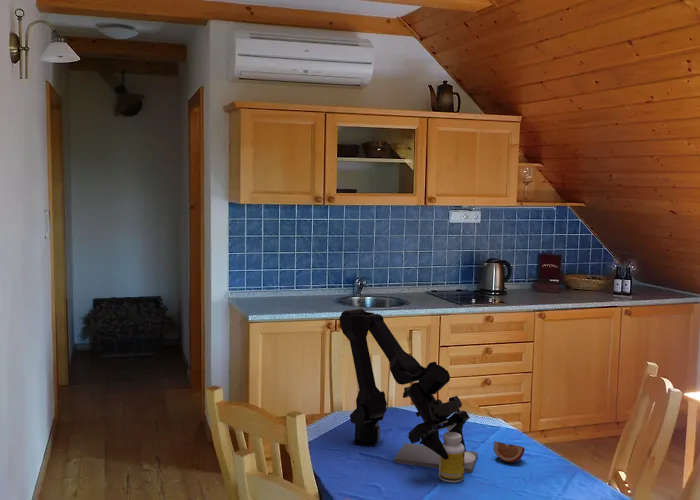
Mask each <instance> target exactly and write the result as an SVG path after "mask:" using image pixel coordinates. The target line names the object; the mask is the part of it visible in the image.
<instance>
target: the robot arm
mask: <svg viewBox="0 0 700 500" xmlns="http://www.w3.org/2000/svg"><path fill="white" fill-rule="evenodd" d="M338 319H339V321H338V322H339V324H340V328H341V331H342V334H343V335H344V336H345V337H346V338H347V340H348V341H349V344H350V350H351V354H352V361H353V364H354V369H355V375H356V379H357V385H358V392H357V395H356V399H355V405H356V408H355V409H354V410H353V411H352V412H351V414H349V419H350V423H352V424H354V428H355V429H354V440H353V441H352V444H354V445H359V446H365V447H366V446H367V447H375V446H376V445H377V444H378V442H379V441H380V440H381V426H380V425H379V422H380V421H383V419H384V417H385V414H386V412H387V408H388V407H387V406H388V403H387V400H386V394H385V392H384V390H383V391H382V390H380V389H379V388H378V386H377V384H376V381H375V375H374V370H373V365H372V359H371V355H370V350H369V345H368V339H367V337H368V333H369V332H370V334H371V336H372V338H373V339H374V340H375V341H376V343H377V345H378V346H379V348H380V350H381V351H382V352H383V354H384V356H385V357H386V358H387V361H389V370H390V373H391V374H392V377H393V379H394V381H395V382H396V383H397V385H402V386H404V385H407V384H411V383H412V384H411V385H410V386H405V387H404V388H403V393H402V398H403V399H406V398H410V400H411V402H412V403H413V405H414V407H415V409H416V410H417V412H416V413H415V415H416V417H417V418H418V417H421V419H422V421H423V422H421V423H417V424H416V425H415V426H414V427H413V428H412V429H411V430H410V431H409V432H408V436H407V437H408V439H409V441H410V444H416V443H418V445H425V446H426V447H428V448H430V449H431V450H433V451H434V452H436V453H437V454H438V455H440V456H441V457H442V458H444V459H445V460H447V459H448V458H449V457H448V454H447V452H446V450H445V448H444V446H443V444H442V443H443V442H442V441H441V439H440V436H439V435H440V432H439V431H440V430H443V429H447V432H456V433H459V434H461V436H462V440H461V442H460V443H461V444H462V445H463V446H464V448H465V452H466V451H467V448H466V444H465V440H464V435H463V427H464V425H465V424H466V422H468V421H469V419H471V418H470V416H469V414H468V413H467V411H466V410H461V409H460V408H462V407H463V403H462V401H461V399H460V397H459V396H458V395H454V396H450V397H449V398H448V401H447V402H442V400H441V399H439V398H438V399H436V398H435V396H434V395H437V394H438V393H439V391H441V390H442V388H444V387H445V386H446V385H447V384H448V383H449V382H450V380H451V376H450V373H449V370H447V369H446V368H445V367H443V366H442V365H439V364H438V363H437V361H431V362H429V363H428V365H426V367H424V366H423V365H421V363H419V361H418V360H417V359H416V358H415V357H414V356H413V355H411V354H409V353H407V352H406V351H405V350H404V349H403V347H402V346H401V344H400V343H399V341H398V340H397V339H396V337H395V336H394V334H393V333H392V331H391V330H390V328H389V327H388V326H387V324H386V322H385V321H384V317H383V316H382V314H380V313H374V312H370V311H366V310H365V309H363V308H355V309H354V308H353V309H348V310H347V309H346V310H343V311H341V314H340V316H339V318H338Z"/></svg>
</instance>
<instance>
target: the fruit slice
mask: <svg viewBox="0 0 700 500" xmlns="http://www.w3.org/2000/svg"><path fill="white" fill-rule="evenodd" d="M493 452H494V454H495V455H496V456H497V457H498V459H500V460H501V461H502V462H504V463H509V464H514V463H517V462H518V461H520V460H521V459H522V457H523V456H524V453H525V447H524V446H521V445H515V444H510V443H509V444H507V443H503V442H501V441H496V440H495V441H494V442H493Z"/></svg>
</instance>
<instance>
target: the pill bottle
mask: <svg viewBox="0 0 700 500" xmlns="http://www.w3.org/2000/svg"><path fill="white" fill-rule="evenodd" d="M442 440H443V442H441V443H442V444H443V446H444V448H445V450H446V452H447V454H448V457H449V458H448V459H447V460H445V459H444V458H442V457H441V456H440V455H439V469H438V477H439V478H440V480H442V481H444V482H445V483H446V482H447V483H453V484H456V483H460V482H462V481H463V480H464V477H465V472H464V456H465V448H466V447H465V448H464V446H463V445H462V444H461V443H460V442H461V440H462V436H461V434H459V433H456V432H449V431H447V432H444V433H443V436H442Z"/></svg>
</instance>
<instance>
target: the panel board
mask: <svg viewBox="0 0 700 500" xmlns="http://www.w3.org/2000/svg"><path fill="white" fill-rule="evenodd" d="M478 454H479V452H478V451H477V452H476V451H472V450H471V451H469V450H466V452H465V456H464V473H469V474H472V473H473V470H474V468H475V465H476V462H477V460H478V457H479V455H478ZM393 459H394V461H393V462H394V463H395V464H403V465H408V466H409V465H411V466H415V467H416V466H418V467H424V468H430V469H431V468H432V469H438V470H439V455H438V454H437V453H436V452H434V451H433V450H431V449H430V448H428V447H426V446H425V445H423V444H416V443H413V444H412V443H408V442H404V443H403V445H402V446H401V448H400V449H399V451H398V452H397V454H396V455H395V457H394V458H393Z"/></svg>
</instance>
